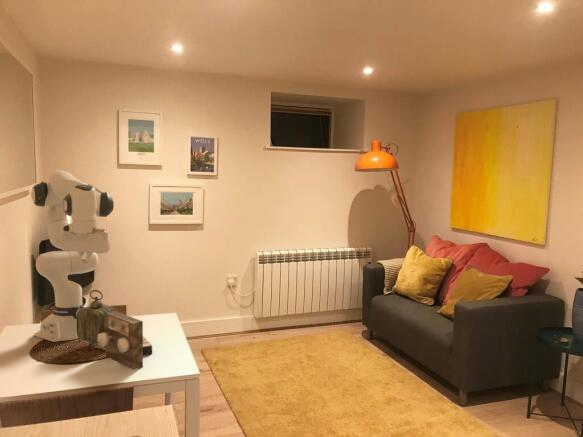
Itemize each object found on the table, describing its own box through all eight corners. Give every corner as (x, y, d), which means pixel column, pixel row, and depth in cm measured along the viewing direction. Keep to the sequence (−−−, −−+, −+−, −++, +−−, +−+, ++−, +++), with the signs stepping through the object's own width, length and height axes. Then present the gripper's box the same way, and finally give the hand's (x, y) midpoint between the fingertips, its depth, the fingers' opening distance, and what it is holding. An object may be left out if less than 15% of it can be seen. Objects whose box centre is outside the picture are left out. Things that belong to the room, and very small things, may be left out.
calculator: (144, 335, 211) (152, 344, 198) (144, 344, 211) (152, 354, 198) (118, 338, 206) (124, 348, 192) (118, 348, 206) (124, 359, 193)
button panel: (132, 370, 182) (132, 323, 180) (104, 356, 194) (104, 313, 192) (142, 366, 185) (142, 321, 183) (114, 353, 198) (114, 310, 196)
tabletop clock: (117, 347, 204) (116, 290, 202) (100, 354, 196) (100, 294, 193) (91, 342, 210) (91, 286, 208) (74, 348, 202) (74, 290, 199)
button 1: (104, 348, 186) (104, 335, 185) (97, 344, 189) (97, 332, 189) (120, 343, 191) (119, 331, 191) (113, 340, 194) (112, 328, 194)
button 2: (124, 354, 181) (124, 340, 180) (117, 350, 184) (117, 337, 183) (140, 349, 186) (140, 336, 185) (132, 346, 189) (132, 333, 189)
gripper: (112, 228, 184) (113, 263, 186) (70, 225, 191) (71, 259, 192) (101, 230, 178) (101, 266, 180) (58, 226, 185) (58, 262, 186)
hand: (85, 262), depth 186 cm, fingers closed
